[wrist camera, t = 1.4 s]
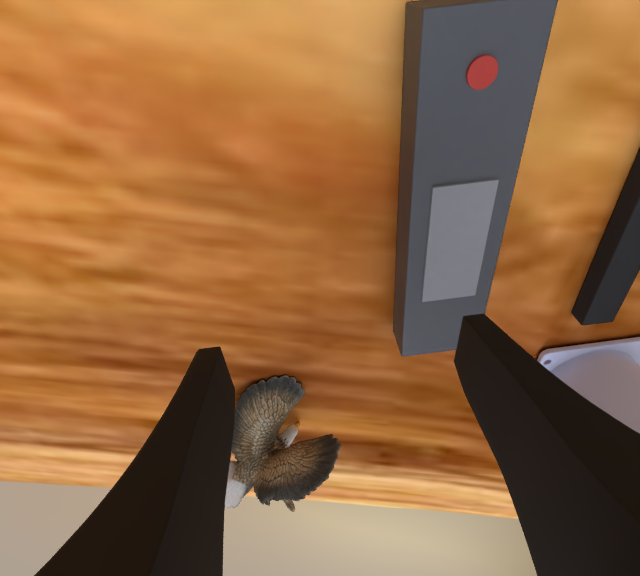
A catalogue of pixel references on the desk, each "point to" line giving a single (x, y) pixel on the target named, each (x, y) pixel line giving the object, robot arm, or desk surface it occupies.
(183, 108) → the desk surface
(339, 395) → the desk surface
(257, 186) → the desk surface
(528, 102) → the remote
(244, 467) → the eagle figurine
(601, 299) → the strip
